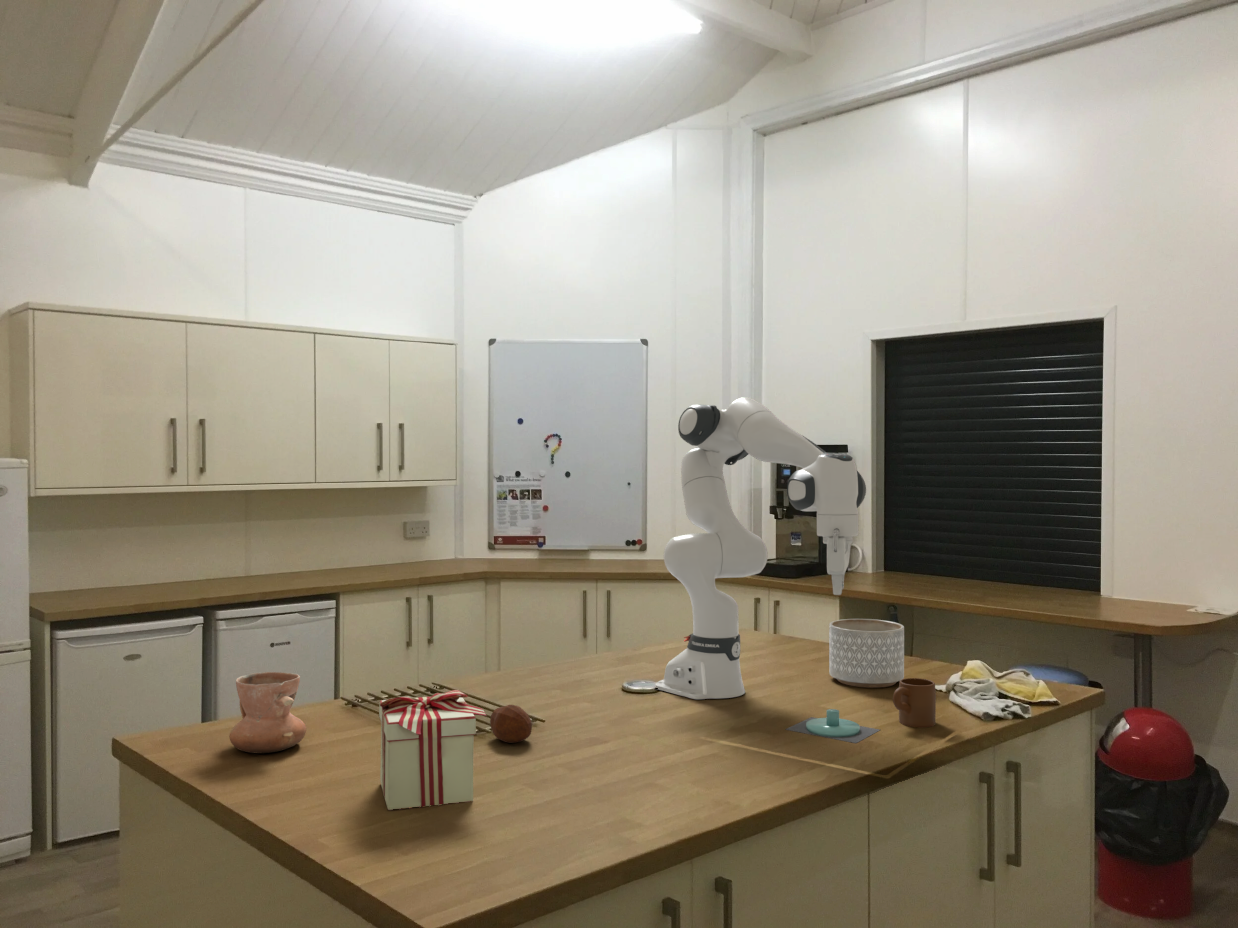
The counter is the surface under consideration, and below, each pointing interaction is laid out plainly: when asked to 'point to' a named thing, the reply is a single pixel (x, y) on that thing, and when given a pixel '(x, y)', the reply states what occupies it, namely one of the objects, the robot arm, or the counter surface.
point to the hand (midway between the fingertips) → (838, 591)
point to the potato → (510, 724)
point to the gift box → (427, 749)
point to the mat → (856, 738)
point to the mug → (916, 702)
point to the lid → (833, 725)
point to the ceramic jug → (267, 713)
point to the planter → (866, 652)
